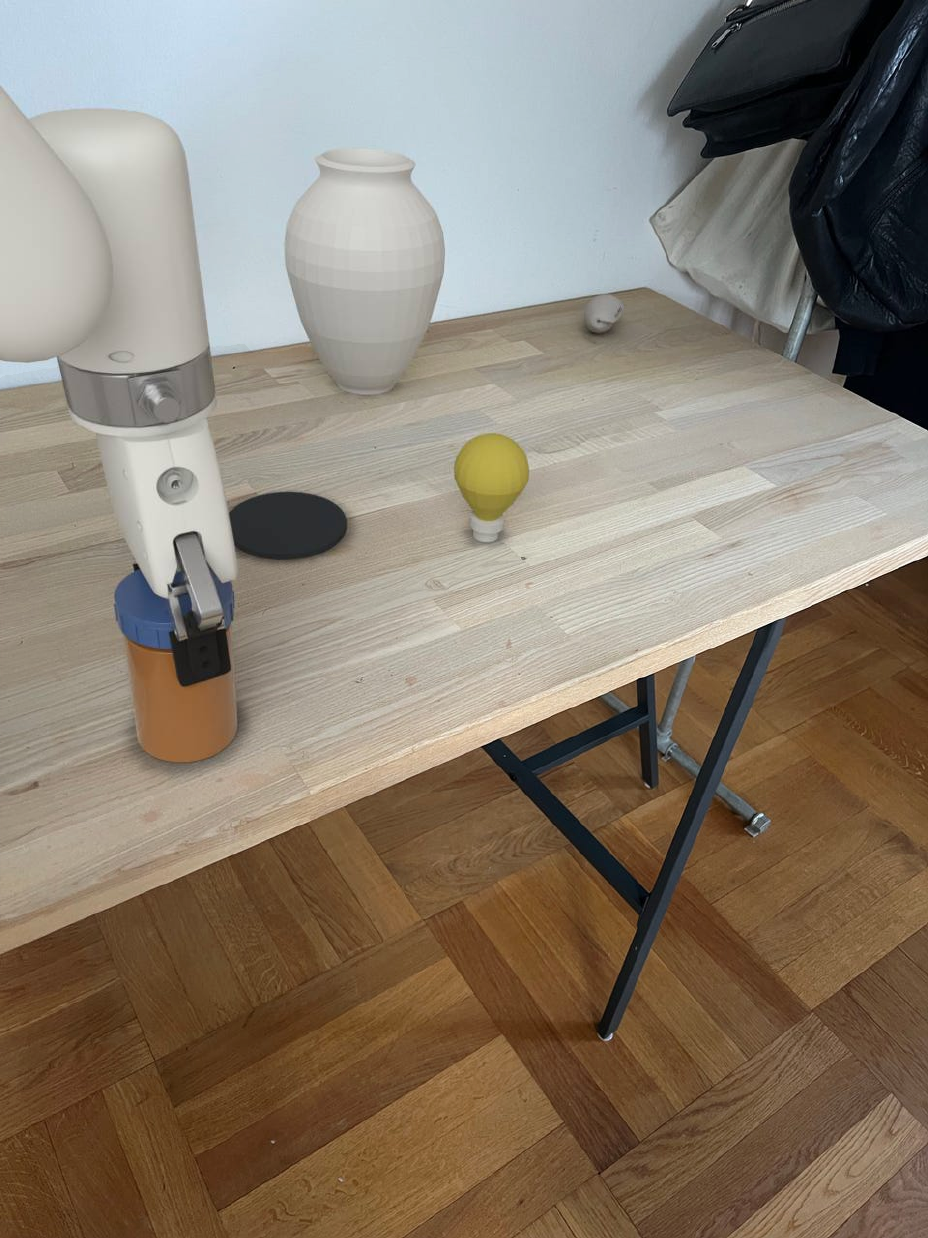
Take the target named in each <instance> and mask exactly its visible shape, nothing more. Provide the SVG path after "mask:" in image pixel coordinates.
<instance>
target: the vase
mask: <svg viewBox="0 0 928 1238" xmlns="http://www.w3.org/2000/svg"><path fill="white" fill-rule="evenodd" d="M314 160H315V162H316V164H317V166H318V169H319V175H318V177H317V178H316V180H315V181H314V182H312V183H311V185H310V186H309V187H308V188H307V189H306V191H305V192H304V193H303V194H302V195H301V196H300V197H299V198H298V200H297V201H296V202H295V204H294V205H293V207H292V210H291V212H290V215H289V217H288V221H287V223H286V229H285V236H284V262H285V269H286V273H287V277H288V281H289V285H290V289H291V291H292V296H293V299H294V302H295V308H296V310H297V314H298V317H299V320H300V323H301V326H302V327H303V330H304V332H305V334H306V336H307V338H308V340H309V343H310V344H311V346H312V348H313V350H314V352H315V353H316V355H317V358H318V359H319V361H320V363H321V365H322V366H323V367H324V369H325V371H326V372H327V373H328V374H329V376H330V377H331V379H333V380H334V382H335V385H336V386H337V388H339V389H340V390H342V391H344V392H347V393H348V394H353V395H358V396H359V395H361V396H374V395H375V396H376V395H382V394H384V393H387V392H389V391H392V389H394V387H395V385H396V383H397V382H398V381H399V380H400V379H401V378H402V376H403V375H404V373H405V372H406V370H407V369H408V368H409V366H410V365H411V363H412V361H413V360H414V357H415V355H416V354H417V352H418V350H419V348H420V346H421V344H422V342H423V339H424V338H425V336H426V333H427V331H428V329H429V327H430V324H431V321H432V319H433V315H434V312H435V308H436V303H437V300H438V297H439V292H440V289H441V287H442V281H443V278H444V273H445V263H446V261H445V260H446V259H445V258H446V247H445V240H444V231H443V228H442V226H441V222H440V220H439V217H438V215H437V214H438V213H437V212H436V210H435V208H434V207H433V206H432V205H431V204H430V202H429V201H428V200H427V198H426V197H425V196H424V194H423V193H422V192H421V191H420V189H418V187H417V186H416V185H415V184H414V182H413V181H412V178H411V175H412V173H413V170H414V169H415V167H416V162H415V161H414V160H412V159H411V158H409V157H407V156H405V155H404V154H401V153H397V152H394V151H389V150H382V149H374V148H355V147H353V148H338V149H337V148H336V149H331V150H327V151H324V152H323V153H321V154H319V155H317V156H315V157H314Z"/></svg>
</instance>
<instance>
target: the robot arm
mask: <svg viewBox="0 0 928 1238" xmlns="http://www.w3.org/2000/svg"><path fill="white" fill-rule="evenodd" d="M195 223H196V222H195V214H194V206H193V199H192V190H191V183H190V173H189V167H188V162H187V156H186V151H185V149H184V144H183V143H182V141H181V138H180V137H179V135H178V134H177V132H176V131H175V129H174V128H173V127H172V126H170V125H169V124H168V123H167V122H165V120H163V119H161V118H158V117H156V116H154V115H151V114H148V113H144V112H139V111H135V110H127V109H117V108H72V109H63V110H62V109H61V110H54V111H48V112H44V113H40V114H37V115H35V116H32V117H29V118H28V117H27V116H26V114H25V113H24V112H23V111H22V110H21V109H20V108H19V106H18V105H17V104H16V103H15V101H14V100H13V99H12V97H11V96H10V95H9V94H8V93H7V91H5V89H4V88H3V87H2V86H1V85H0V361H2V362H10V363H27V364H28V363H37V362H42V361H49V360H51V359H54V358H56V361H57V364H58V365H57V366H58V369H59V372H60V379H61V382H62V387H63V391H64V395H65V400H66V405H67V407H68V412H69V416H70V418H71V420H72V421H73V422H74V423H75V424H76V425H77V426H79V427H81V428H83V429H85V430H86V431H90V432H92V433H95V436H96V441H97V447H98V452H99V455H100V462H101V466H102V471H103V475H104V479H105V484H106V487H107V488H106V489H107V492H108V495H109V500H110V504H111V507H112V510H113V515H114V516H115V519H116V522H117V525H118V528H119V530H120V532H121V534H122V536H123V539H124V540H125V542H126V544H127V546H128V549H129V551H130V553H131V554H132V557H133V559H134V561H135V562H136V563H132V568H133V572H134V571H136V570H138V569H141V571H142V573H143V575H144V576H145V578H146V580H147V582H148V584H149V585H150V587H151V589H152V590H153V592H154V593H155V594H157V595H159V596H160V597H163V598H165V600H166V604H167V607H168V611H169V614H170V618H171V622H172V625H173V629H174V631H171V632H169V637H170V643H171V648H172V653H173V659H174V664H175V669H176V675H177V679H178V681H179V683H180V685H181V686H183V687H186V686H190V685H193V684H196V683H199V682H203V681H206V680H209V679H212V678H215V677H219V676H222V675H225V674H227V673H229V672H230V670H231V663H230V656H229V648H228V641H227V634H226V627H225V621H224V616H223V609H222V605H221V603H220V600H219V597H218V594H217V590H216V586H215V583H214V579H213V575H212V571H211V568H212V570H213V571H214V572H215V574H216V575H217V577H218V578H219V579H220V581H221V582H222V583H225V582H228V581H229V582H231V583H232V582H235V580H236V579H237V577H238V575H239V565H238V558H237V551H236V546H234V540H233V535H232V529H231V523H230V517H229V512H230V511H229V506H228V501H227V496H226V491H225V487H224V486H225V485H224V481H223V476H222V471H221V467H220V462H219V458H218V454H217V450H216V445H215V442H214V439H213V435H212V432H211V428H210V426H209V421H208V419H207V418H208V417H209V416H210V415H211V414H212V413H213V412H214V411H215V409H216V407H217V400H218V399H217V393H216V384H215V377H214V370H213V369H214V368H213V361H212V354H211V343H210V337H209V330H208V320H207V312H206V304H205V296H204V289H203V280H202V272H201V264H200V256H199V248H198V239H197V238H198V237H197V231H196V224H195ZM210 567H211V568H210ZM180 572H182V574H183V577H184V580H185V581H184V582H180V583H176V584H172V585H171V583H172V582H173V579H174V576H175V574H176V573H180ZM185 594H190V597H191V601H192V611H191V612H187V613H186V614H185V616H184V617H183V615H182V611H181V608H180V604H179V600H178V596H182V595H185Z"/></svg>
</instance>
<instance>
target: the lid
mask: <svg viewBox="0 0 928 1238" xmlns="http://www.w3.org/2000/svg"><path fill="white" fill-rule="evenodd" d="M210 568H211V567H210ZM211 571H212V575H213V579H214V583H215V586H216V590H217V594H218V597H219V600H220V603H221V605H222V609H223V616H224V621H225V627H226V629H227V628H228V627H229V626H230V624H231V622H234V616H235V608H236V607H235V591H234V590H233V584H232V582H229V581H228V582H225V583H222V582H221V581H220V579H219V578H218V577H217V575H216V574H215V572H214V571H213V570H212V568H211ZM184 581H185V580H184V577H183V574H182V572H180V573H176V574H175V576H174V579H173V582H172V583H171V585H172V584H176V583H180V582H184ZM113 596H114V602H113V609H114V614H115V615H114V616H115V621H116V623H117V625H118V628H119V630H120V632H121V635H123V634H124V635H125V636H126V637H128V638H129V639H130V640H132V641H134V642H136V643H138V644H141V645H144V646H148V647H152V648H160V649H172V648H171V643H170V637H169V632H171V631H174V629H173V625H172V622H171V618H170V614H169V611H168V607H167V604H166V600H165V598H163V597H160V596H159V595H157V594H155V593H154V592H153V590H152V589H151V587H150V585H149V584H148V582H147V580H146V578H145V576H144V575H143V573H142V571H141V569H138V570H136V571H134V570H133V571H132V572H131V573H129V574H127V575H126V576H125V577H123V579H122V580H121V581H119V583H118V584H117V586H116V588H115V590H114V595H113ZM178 600H179V604H180V608H181V611H182V615H183V617H184V616H185V614H186V613H187V612H191V611H192V601H191V597H190V594H185V595H182V596H178Z"/></svg>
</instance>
